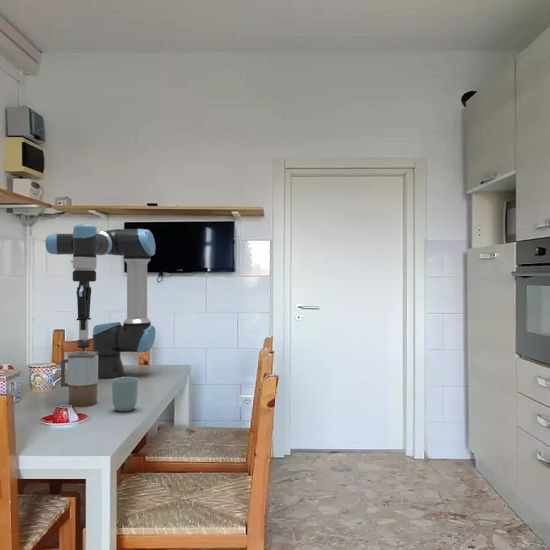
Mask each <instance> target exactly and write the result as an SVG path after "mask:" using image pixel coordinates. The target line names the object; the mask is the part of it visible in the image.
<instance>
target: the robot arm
mask: <svg viewBox="0 0 550 550" xmlns="http://www.w3.org/2000/svg"><path fill="white" fill-rule="evenodd" d="M97 229H98V228H97V226H96V225H95V224H75V225H74V226H73V232H72V233H50V234H48V235H47V236H46V237H45V238H46V239H45V240H44V241H45V242H44V243H45V244H44V245H45V249H46V251H47V252H48V254H50V255H57V256H58V255H72V260H71V261H70V263H72V269H73V271H72V281H73V282H79V283H78V286H77V287H76V297H77V298H76V300H77V304H76V305H77V318H76V321H78V325H79V326H78V340H87V339H89V320H90V321H91V320H92V317H91V315H90V313H91V299H92V292H93V291H92V287H91V286H90V283H91V282H93V283H94V282H96V281H97V271H96V269H97V261H98V260H97V259H98V258H97V256H105V255H109V256H111V255H112V256H123V257H122V259H123V261H124V262H125V263H126V319H125V320H123V325H122V323H121V322H120V321H115V322H108V323H102V324H96V325H94V326H93V328H92V329H93V330H92V352H98V379H115V378H119V377H124V375H125V368H124V365H123V362H122V359H121V353H123V352H124V353H147V352H149V351H151V350H152V348H153V346H154V344H155V343H154V342H155V338H156V327H155V326H154V325H151V324H152V322H151V320H150V319H149V318H148V264H149V262H151V259H152V257H153V256H154V255H155V254H156V242H155V241H156V240H155V238H154V235H153V233H152V231H151V230H149V229H144V228H124V229H123V228H121V229H120V228H117V229H116V228H115V229H108V230H103V231H101V230H99V231H98V230H97Z"/></svg>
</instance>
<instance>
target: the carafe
mask: <svg viewBox="0 0 550 550" xmlns="http://www.w3.org/2000/svg"><path fill="white" fill-rule="evenodd" d="M67 358H68V359H67ZM67 358H66V359H64V358H63V359H61V360H60V388H63V387H64V388H67V387H68V404H69V405H72V406H73V408H83V407H90V406H91V407H92V406H93V405H96V404H98V381H99V378H98V352H93V351H85V354H82V351H73V352H71V353H70V354H68V357H67ZM66 364H67V382H66ZM69 405H68V406H69ZM72 406H71V407H72Z"/></svg>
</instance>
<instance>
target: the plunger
mask: <svg viewBox="0 0 550 550" xmlns="http://www.w3.org/2000/svg"><path fill="white" fill-rule="evenodd" d="M76 345H77V346H76V348H80V349H81V352H82V354H85V352H86V349H87V348H90V347H91V340H90V339H89V338H88V339H87V340H79V339H77V342H76Z"/></svg>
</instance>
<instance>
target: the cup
mask: <svg viewBox="0 0 550 550" xmlns="http://www.w3.org/2000/svg"><path fill="white" fill-rule="evenodd" d="M111 389H112V390H111V398H112V399H111V400H112V404H113V405H112V406H113V407H114V409H115V410H116V411H117V412H130V411H132V410H134V409H135V407H136V405H137V402H138V397H139V396H138V392H139V391H138V390H139V378H138V377H134V376H119V377H114V378H112V383H111Z"/></svg>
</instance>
